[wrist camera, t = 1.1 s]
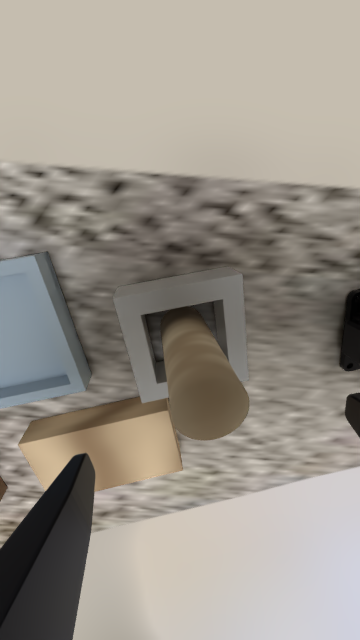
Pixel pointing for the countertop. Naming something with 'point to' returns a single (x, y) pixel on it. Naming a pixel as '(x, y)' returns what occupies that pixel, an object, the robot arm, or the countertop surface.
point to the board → (106, 442)
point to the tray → (36, 335)
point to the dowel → (200, 378)
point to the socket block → (177, 293)
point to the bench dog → (2, 488)
